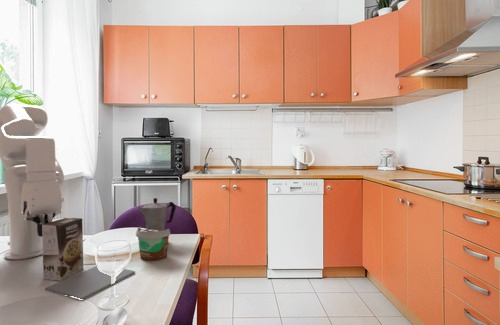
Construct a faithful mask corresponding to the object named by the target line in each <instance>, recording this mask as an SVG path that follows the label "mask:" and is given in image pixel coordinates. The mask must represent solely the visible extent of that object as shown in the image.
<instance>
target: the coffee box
mask: <svg viewBox="0 0 500 325" xmlns="http://www.w3.org/2000/svg"><path fill="white" fill-rule="evenodd" d="M83 230H84V229H83V218H82V217H81V218H79V217H64V218H61V219H57V220H52V222H49V223H46V224H42V244H43V254H42V279H43V280H51V281H58V282H60V281H62V280H64V279H67V278H69V277H71V276H74V275H76V274H77V273H78V272H80V271H82V270H84V268H85V267H84V237H83V234H84V231H83Z"/></svg>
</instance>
